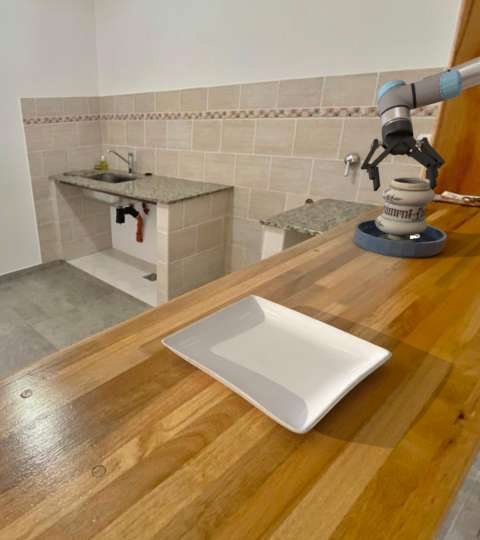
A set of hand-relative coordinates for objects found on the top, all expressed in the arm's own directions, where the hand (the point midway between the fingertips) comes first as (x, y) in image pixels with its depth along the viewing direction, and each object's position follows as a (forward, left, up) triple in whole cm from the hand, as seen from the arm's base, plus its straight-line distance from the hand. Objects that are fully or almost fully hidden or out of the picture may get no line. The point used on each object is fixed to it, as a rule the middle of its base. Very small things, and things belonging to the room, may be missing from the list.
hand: (404, 188), depth 107 cm
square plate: (+15, +75, -16) cm, 78 cm away
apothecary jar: (-1, +3, -15) cm, 15 cm away
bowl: (-1, +3, -16) cm, 16 cm away
